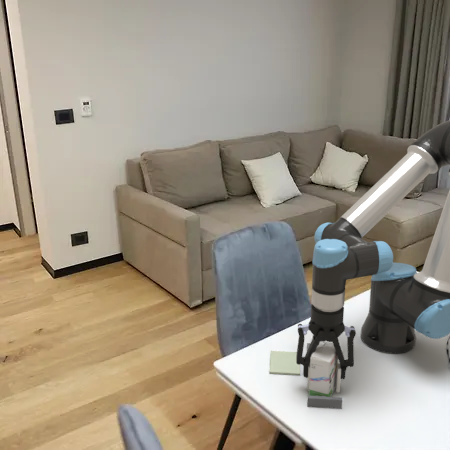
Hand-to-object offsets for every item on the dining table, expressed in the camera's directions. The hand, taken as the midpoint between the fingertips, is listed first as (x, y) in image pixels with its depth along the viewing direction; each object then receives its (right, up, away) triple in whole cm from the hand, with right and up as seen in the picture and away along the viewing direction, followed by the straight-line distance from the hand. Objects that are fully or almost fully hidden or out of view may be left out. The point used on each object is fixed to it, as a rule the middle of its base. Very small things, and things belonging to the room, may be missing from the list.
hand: (323, 387), depth 128 cm
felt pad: (-8, +3, +12) cm, 15 cm away
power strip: (+1, +2, +8) cm, 8 cm away
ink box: (0, -1, 0) cm, 1 cm away
